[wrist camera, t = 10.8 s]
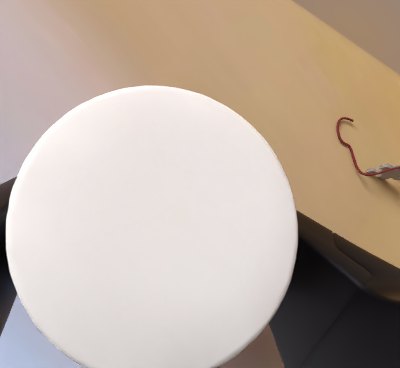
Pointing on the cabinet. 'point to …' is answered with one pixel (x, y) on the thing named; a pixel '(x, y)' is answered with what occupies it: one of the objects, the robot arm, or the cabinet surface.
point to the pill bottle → (151, 231)
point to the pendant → (385, 173)
